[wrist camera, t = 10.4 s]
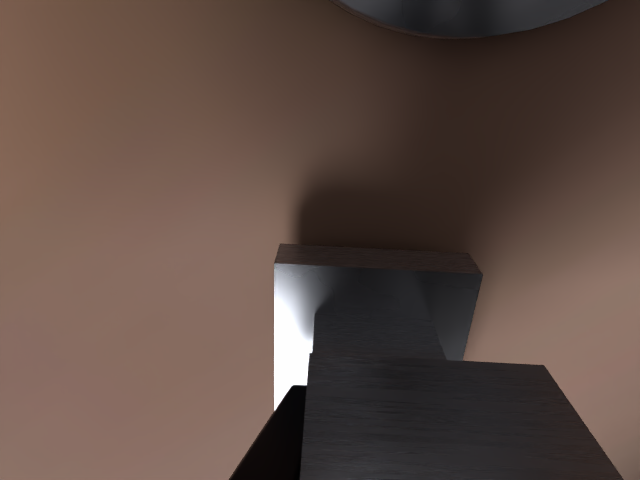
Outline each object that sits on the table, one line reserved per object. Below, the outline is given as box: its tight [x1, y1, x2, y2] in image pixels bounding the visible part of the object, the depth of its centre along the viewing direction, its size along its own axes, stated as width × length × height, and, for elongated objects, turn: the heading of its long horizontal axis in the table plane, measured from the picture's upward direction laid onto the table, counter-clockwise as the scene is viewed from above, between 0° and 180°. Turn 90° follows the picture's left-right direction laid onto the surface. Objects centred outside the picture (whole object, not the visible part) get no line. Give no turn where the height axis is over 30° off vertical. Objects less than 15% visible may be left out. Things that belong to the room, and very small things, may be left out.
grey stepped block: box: [274, 244, 623, 480], centre depth 7 cm, size 7×4×7 cm, turn 177°
